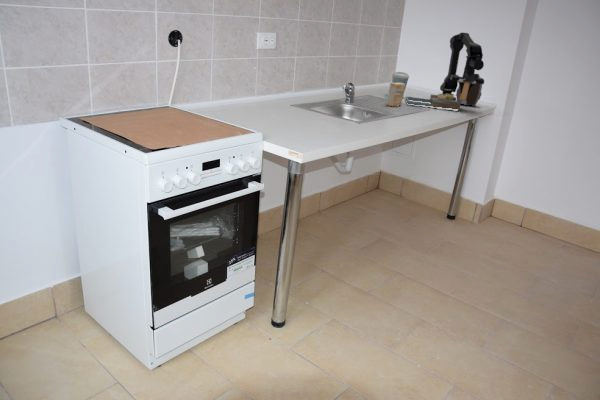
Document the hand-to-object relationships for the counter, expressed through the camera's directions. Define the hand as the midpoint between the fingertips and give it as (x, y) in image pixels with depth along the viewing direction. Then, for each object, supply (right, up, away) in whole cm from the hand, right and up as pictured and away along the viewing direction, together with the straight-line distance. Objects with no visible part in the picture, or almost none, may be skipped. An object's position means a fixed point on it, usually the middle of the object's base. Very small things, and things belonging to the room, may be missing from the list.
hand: (463, 93), depth 294 cm
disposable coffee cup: (-36, +2, +19) cm, 41 cm away
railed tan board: (-11, -7, +4) cm, 14 cm away
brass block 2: (-8, -3, +4) cm, 9 cm away
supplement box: (-43, -8, -6) cm, 44 cm away
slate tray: (-25, -5, +5) cm, 26 cm away
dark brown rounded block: (+8, -3, +19) cm, 21 cm away
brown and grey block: (0, -5, +2) cm, 5 cm away
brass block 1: (-14, -4, 0) cm, 14 cm away
